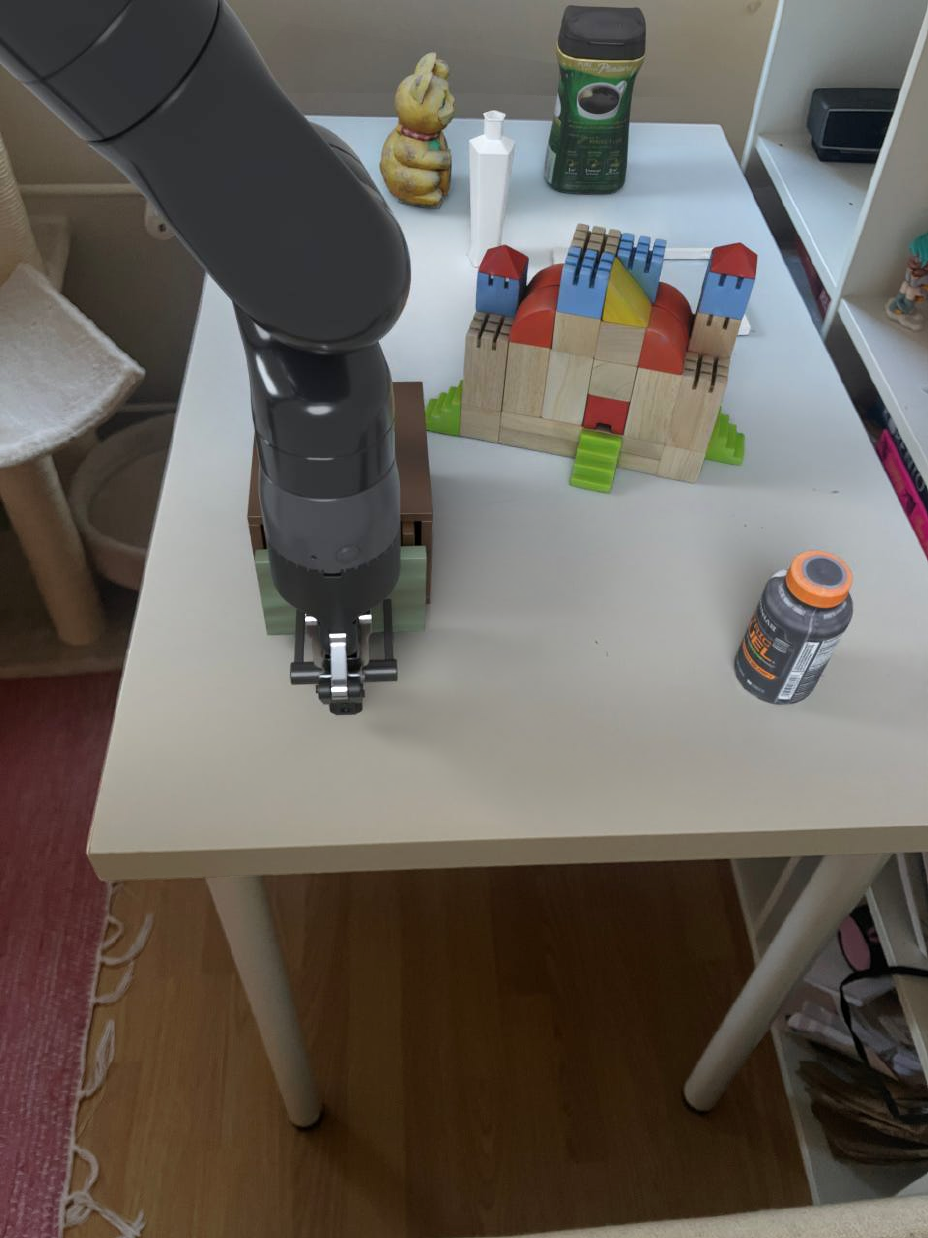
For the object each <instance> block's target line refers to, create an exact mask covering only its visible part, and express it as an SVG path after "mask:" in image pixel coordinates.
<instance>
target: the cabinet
mask: <svg viewBox="0 0 928 1238" xmlns="http://www.w3.org/2000/svg"><path fill="white" fill-rule="evenodd" d="M392 383H393V390H394V403H395V457H396V463H397V468H398V473H399V479H400V522H401V521H414V532H415V541H414V546H426V556H427V565H426V604H431V596H432V595H431V594H432V565H433V564H432V563H433V560H432V559H433V531H434V529H433V528H434V507H433V506H434V505H433V495H432V493H433V492H432V483H431V470H430V459H429V458H430V457H429V446H428V432H427V431H428V430H426V418H425V410H426V407H425V395H424V393H425V392H424V383H423V381H392ZM253 434H254V435H253V444H252V457H251V466H250V478H249V479H250V480H249V490H248V491H249V492H248V501H247V511H246V512H247V513H246V519H247V524H248V525H247V526H248V531H249V537H250V543H251V548H252V555H253V560H254V561H253V562H255V553H256V550H264V549H267V544H266V538H265V532H264V525H263V518H262V512H261V505H260V499H259V457H258V451H257V444H256V437H255V431H254V433H253ZM254 566H255V565H254ZM255 568H256V566H255ZM255 573H256V574H257V572H256V571H255ZM256 578H257V577H256ZM257 580H258V578H257ZM257 584H258V583H257ZM258 586H259V584H258ZM258 591H259V592H260V590H258ZM259 596H260V595H259ZM259 598H261V596H260V597H259Z"/></svg>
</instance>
